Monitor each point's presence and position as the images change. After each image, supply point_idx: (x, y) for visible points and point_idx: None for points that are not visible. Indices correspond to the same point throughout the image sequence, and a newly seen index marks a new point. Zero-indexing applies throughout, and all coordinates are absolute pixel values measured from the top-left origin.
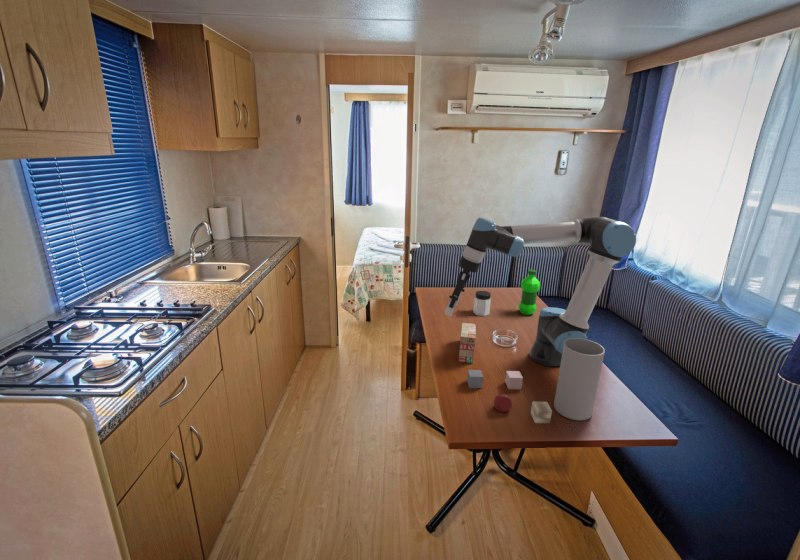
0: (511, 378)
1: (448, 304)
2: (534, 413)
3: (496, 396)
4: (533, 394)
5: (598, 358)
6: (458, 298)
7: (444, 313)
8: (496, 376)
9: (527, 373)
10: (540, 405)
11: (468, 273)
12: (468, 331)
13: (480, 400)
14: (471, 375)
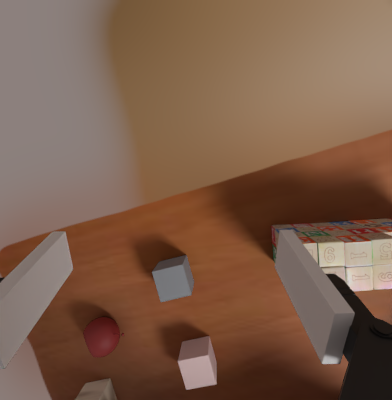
0: (179, 363)
1: (11, 276)
2: (86, 392)
3: (98, 329)
4: (178, 389)
5: None
6: (298, 305)
7: (52, 233)
8: (226, 317)
9: (263, 385)
10: None
11: None
12: (339, 267)
13: (120, 287)
14: (158, 274)
